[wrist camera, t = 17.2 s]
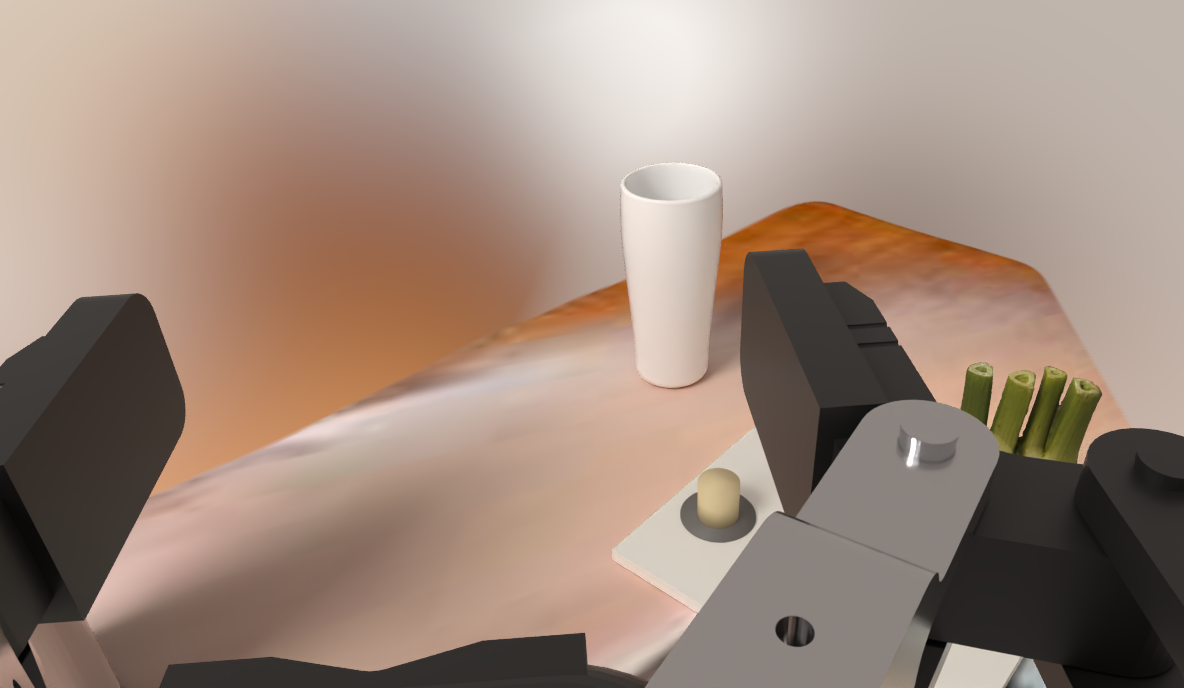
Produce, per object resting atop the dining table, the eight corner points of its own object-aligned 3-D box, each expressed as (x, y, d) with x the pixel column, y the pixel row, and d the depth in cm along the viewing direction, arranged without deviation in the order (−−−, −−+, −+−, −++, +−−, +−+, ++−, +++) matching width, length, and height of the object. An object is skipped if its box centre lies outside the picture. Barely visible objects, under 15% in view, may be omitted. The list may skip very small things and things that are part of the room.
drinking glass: (649, 338, 71) (646, 155, 63) (731, 357, 69) (739, 169, 60) (609, 383, 66) (600, 192, 58) (696, 407, 64) (699, 209, 55)
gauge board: (612, 559, 52) (610, 515, 50) (799, 396, 64) (803, 356, 62) (964, 780, 40) (978, 732, 38) (1113, 528, 52) (1129, 482, 50)
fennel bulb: (920, 544, 50) (956, 365, 44) (969, 502, 53) (1010, 327, 47) (1020, 605, 47) (1076, 419, 40) (1067, 556, 49) (1127, 374, 43)
